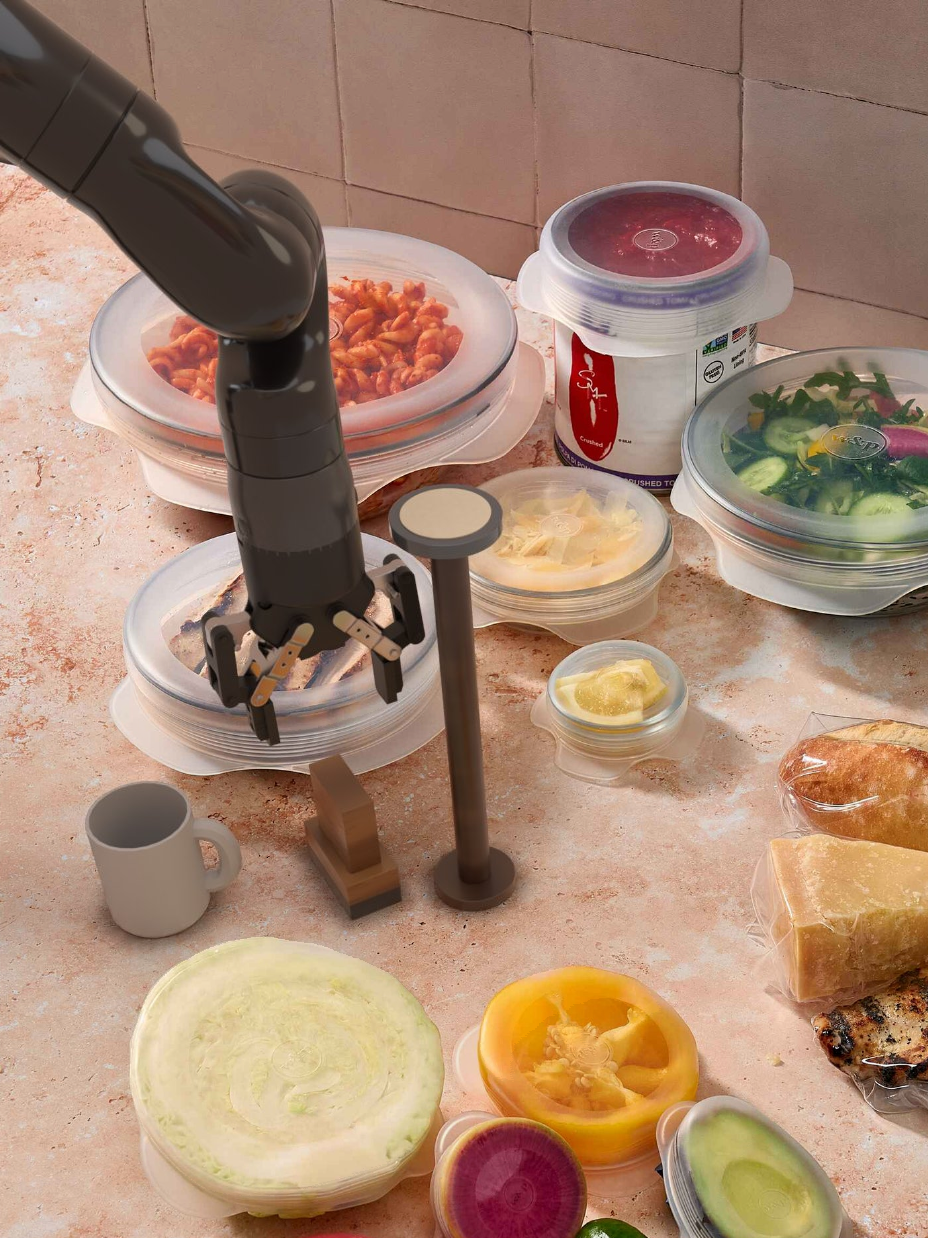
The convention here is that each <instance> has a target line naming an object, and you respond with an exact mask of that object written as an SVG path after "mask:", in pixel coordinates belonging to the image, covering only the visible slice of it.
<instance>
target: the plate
mask: <svg viewBox="0 0 928 1238" xmlns="http://www.w3.org/2000/svg"><path fill="white" fill-rule="evenodd" d="M502 507H503V506H502V505H501V504H500V501H499V500H498V499H497V498H496V497H495V496H493V495H492V494H491V493H489V492H487V491H485V490H483V489H480V488H478V487H475V486H472V485H466V484H457V483H443V484H441V483H440V484H433V485H428V486H424V487H420V488H417V489H414V490H412V491H410V492H408V493H406V494H404V495H402V496H401V497H400V498H399V499H397V500H396V501H395V502H394V503H393V504H392V506H391V508H390V509H389V511H388V518H387V519H388V529H389V535H390V537H391V540H392V541H393V543H394V544H395V545H396V546H397V547H398V548H399V549H401V550H402V551H404V552H406V553H408V554H411V555H413V556H416V557H419V558H424V559H428V560H430V559H442V560H443V559H457V558H463V557H467V556H468V557H470V556H473V555H476V554H479V553H482V552H484V551H486V550H487V549H489V548H490V547H492V546H493V545H494V544H495V543H496V542H497V541H498V540H499V539H500V538H501V536H502V533H503V530H504V511H503V508H502Z"/></svg>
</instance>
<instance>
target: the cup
mask: <svg viewBox="0 0 928 1238" xmlns="http://www.w3.org/2000/svg"><path fill="white" fill-rule="evenodd" d="M84 829H85V831H86V836H87V839H88V843H89V847H90V850H91V853H92V857H93V860H94V863H95V867H96V870H97V873H98V876H99V880H100V884H101V886H102V890H103V894H104V897H105V901H106V904H107V908H108V910H109V913H110V915H111V917H112V919H113V921H114V923H115V924H116V925H117V926H118V927H119V928H120V929H121V930H123V931H126V932H127V933H129V934H131V935H133V936H137V937H140V938H145V939H147V938H148V939H151V938H152V939H159V938H166V937H170V936H173V935H177V934H179V933H181V932H184V931H185V930H187V929H189V928H191V927H192V926H193V925H194V924H195V923H196V922H197V921H199V920H200V919H201V918H202V916H203V915H204V914H205V912H206V910H207V908H208V907H209V904H210V900H211V893H215V892H220V891H223V890H225V889H227V888H228V887H230V886H231V885H232V884H233V883H234V882H235V881H236V880H237V879H238V877H239V874H240V873H241V870H242V866H243V855H242V850H241V846H240V844H239V842H238V840H237V838H236V836H235V835H234V833H233V832H232V831H231V829H230V828H228V826H227V825H225V824H224V823H223V822H221V821H219V820H217V819H214V818H209V817H203V816H202V817H194V813H193V808H192V803H191V800H190V799H189V797H188V795H187V793H185V792H184V791H183V790H182V789H180V787H177V786H175V785H173V784H170V783H169V782H163V781H159V780H140V781H134V782H129V783H125V784H122V785H118V786H115V787H114V788H112V789H110V790H108V791H107V792H105V793H103V794H102V795H101V796H100V797H98V798H97V799H96V800H95V801H94V802H93V803H92V804H91V806H89V808H88V810H87V812H86V815H85V818H84ZM201 841H204V842H209V843H210V844H212V845H213V846H214V847H215V848H216V850H217V855H218V867H215V868H214V869H213V868H212V869H206V868H207V867H206V863H205V860H204V859H205V858H204V854H203V851H202V846H201Z"/></svg>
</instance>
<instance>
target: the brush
mask: <svg viewBox="0 0 928 1238" xmlns="http://www.w3.org/2000/svg"><path fill="white" fill-rule="evenodd" d="M308 771H309V776H310V781H311V788H312V794H313V800H314V806H315V812H316V815H315V816H312V817H309V818H308V819H305V820H303V822H302V823H303V829H304V834H305V839H306V845H307V851H308V856H309V857H310V859H311V860H312V862H313V864H314V865H315V867H316V868H317V869H318V871H319V873H320V874H321V875H322V877H323V878H324V880H325V882H326V883H327V885H328V886H329V888H330V890H331V891H332V892H333V894H334V895H335V897H336V898H337V900H338V901H339V904H340V905H341V906H342V908H343V909H344V911H345V912H346V914H347V915H348V917H349V919H350V920H351V921H354V920H357V919H360V918H362V917H366V916H367V915H369V914H372V913H375V912H377V911H380V910H383V909H384V908H385V909H386V908H388V907H390V906H392V905H395V904H397V903H400V902H402V901H403V898H402V897H403V896H402V890H401V889H402V888H401V882H400V875H399V874H400V873H399V867H398V865H397V864H396V862H395V861H394V859H393V858H392V857H391V855H390V854H389V853H388V851H387V849H386V848H385V846H384V845H383V844H382V843H381V841H380V838H379V834H378V833H379V832H378V825H377V817H376V810H375V803H374V800H373V799H372V797H371V796H370V794H369V793H368V792H367V790H366V789H365V787H364V786H363V785H362V783H361V782H360V780H359V779H358V778H357V776H356V775H355V773H354V772H353V770H351V768H350V766H349V765H348V764H347V763H346V761H345V759H344V758H343V757H342V756H341V754H340V753H336V754H334V755H331V756H328V757H325V758H321V759H320V760H317V761H313V762H311V763H308Z"/></svg>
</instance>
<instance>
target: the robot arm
mask: <svg viewBox="0 0 928 1238" xmlns="http://www.w3.org/2000/svg"><path fill="white" fill-rule="evenodd" d="M0 156H2V158H5V159H6V160H7V161H9V162H10V163H11V164H12V165H14V166H15V167H18V169H20V170H21V171H22V172H23V173H25V174H27V175H28V176H29V177H31V178H32V179H34V180H35V181H37V183H39V184H41V185H42V186H44V187H45V188H46V189H48V190H49V191H51V193H54V195H56V196H58V197H59V198H60V199H61V200H66V203H67V204H69V205H70V206H72V207H73V208H75V209H76V210H78V211H79V212H81V213H83V214H84V215H86V216H87V217H89V218H90V219H91V220H93V222H95V223H96V224H97V225H98V227H100V228H101V230H102V231H103V232H104V233H105V234H106V235H107V236H108V237H109V239H111V241H112V242H113V243H114V244H115V245H116V247H117V248H118V249H119V250H120V251H121V253H123V254H124V255H125V257H126V258H127V259H128V260H130V262H131V263H133V264H134V265H135V267H136V268H138V270H139V271H140V272H141V273H143V275H144V276H145V277H146V278H147V279H148V280H149V281H150V282H151V283H152V284H153V285H154V286H155V287H156V288H157V289H158V290H159V291H160V292H161V293H162V294H163V295H164V296H165V297H166V298H167V299H168V300H169V301H171V303H173V304H174V305H175V306H176V307H177V308H178V309H179V310H180V311H182V312H183V313H184V314H185V315H187V316H188V317H189V318H190V319H192V320H194V321H195V322H196V323H198V324H199V325H201V326H202V327H204V328H206V329H207V330H209V331H211V332H214V333H215V334H216V336H217V337H216V338H217V360H216V366H215V374H214V400H215V407H216V412H217V419H218V424H219V430H220V434H221V440H222V445H223V451H224V455H225V463H226V482H227V483H226V484H227V492H228V499H229V504H230V509H231V514H232V520H233V524H234V529H235V534H236V541H237V547H238V550H239V555H240V562H241V567H242V571H243V576H244V580H245V581H244V582H245V586H246V587H245V588H246V591H247V601H246V604H245V607H244V609H243V611H240V612H236V613H232V614H227V615H224V616H220V615H219V613H218V612H216V611H212V610H210V611H207V612H205V613H204V614H203V615H202V616H201V618H200V625H201V626H200V627H201V632H202V639H203V646H204V653H205V660H206V667H207V675H208V681H209V685H210V687H211V688H212V690H213V691H215V693H216V695H217V696H218V697H219V699H220V702H221V704H222V705H223V706H224V707H225V708H226V709H233V708H236V707H237V706H238V705H240V704H244V706H245V707H244V708H245V711H246V716H247V721H248V726H249V727H250V729H251V730H252V732H253V734H254V735H255V736H256V738H257V739H258V740H259V741H260V742H264V741H265V742H266V743H267V744H268V746H269V747H274V746H276V745H279V744H281V737H280V731H279V726H278V722H277V721H278V720H277V717H276V711H275V710H276V709H275V705H274V702H273V700H272V699H271V696H272V694H273V692H274V690H275V688H276V687H277V685H278V683H279V681H284V680H285V679H286V678H287V677H288V674H289V673H290V671H291V669H292V668H293V665H294V664H295V662H296V660H297V659H299V660H300V661H301V662H302V661H306V660H308V659H311V658H313V657H315V656H317V655H319V654H320V653H322V652H325V651H334V650H339V649H341V648H344V647H346V642H347V641H349V640H350V639H351V638H353V639H355V640H356V641H358V642H359V643H361V644H362V645H363V646H365V647H366V648H368V649H369V652H370V658H371V666H372V672H373V681H374V686H375V687H374V688H375V689H376V692H377V695H379V696H380V698H381V699H382V700H383V701H384V703H385V704H386V705H387V706H388V705H390V704H391V705H392V704H393V703H396V702H398V694H399V693H401V692H402V691H403V688H404V679H403V670H402V663H401V656H402V653H403V650H404V649H405V648H407V647H408V646H410V645H413V646H414V645H420V644H422V643H423V641H424V640H425V638H426V630H425V624H424V619H423V614H422V609H421V603H420V596H419V592H418V586H417V580H416V575H415V574H414V572H413V571H412V570H411V568H409V567H408V565H407V564H406V563H405V562H404V561H403V559H402V558H401V557H400V556H399V555H398V554H397V553H394V552H393V553H389V554H387V555H385V556H384V558H383V560H382V566H379V567H377V568H374V569H371V570H368V571H366V562H365V554H364V548H363V546H364V545H363V541H362V540H363V539H362V533H361V532H362V531H361V525H360V518H359V517H360V516H359V511H358V510H359V509H358V504H359V503H358V502H359V496H358V492H357V488H356V487H355V480H354V475H353V470H352V466H351V463H350V459H349V457H348V453H347V449H346V444H345V439H344V438H345V437H344V430H343V425H342V424H343V423H342V417H341V408H340V402H339V395H338V389H337V386H336V382H335V376H334V371H333V370H334V369H333V364H332V357H331V347H330V346H331V345H330V343H331V342H330V330H331V329H330V301H329V300H330V299H329V280H328V279H329V278H328V264H327V263H328V261H327V253H326V244H325V238H324V232H323V228H322V224H321V221H320V219H319V215H318V214H317V212H316V209H315V208H314V205H313V204H312V203H311V200H310V199H309V198H308V197H307V196H306V194H305V192H303V191H302V190H301V189H300V188H299V187H298V186H297V185H296V184H295V183H293V182H292V181H291V180H289V179H288V178H287V177H285V176H283V175H281V174H279V173H276V172H274V171H272V170H271V171H270V170H267V169H263V168H243V169H240V170H237V171H236V170H235V171H233V172H231V173H228V174H226V175H225V176H223V177H222V178H220V179H219V180H215V179H214V178H213V177H212V176H211V175H209V173H207V172H206V171H205V169H203V168H202V167H201V166H200V165H199V164H198V163H197V162H196V161H195V160H193V158H192V157H191V156H190V155H189V153H188V152H187V151H186V148H185V145H184V142H183V138H182V133H181V130H180V127H179V124H178V123H177V121H176V119H175V118H174V116H173V115H172V114H171V113H170V112H169V110H167V109H166V108H165V107H164V105H162V104H161V103H160V102H158V101H157V100H156V99H155V98H154V97H153V96H152V95H150V93H148V92H146V91H145V90H144V89H143V88H141V87H139V88H138V85H137V84H136V83H135V82H134V81H132V80H131V79H130V78H128V77H127V76H126V75H124V74H123V73H122V72H120V70H119V69H117V68H115V66H113V65H111V63H109V62H107V61H106V60H105V59H104V58H103V57H101V56H100V55H99V54H97V53H95V51H94V52H93V50H92V49H91V48H89V47H88V46H87V45H85V43H83V42H81V41H80V40H79V39H78V38H77V37H75V36H73V35H72V34H71V33H70V32H68V31H67V30H66V29H65V28H63V27H61V26H60V25H59V24H58V23H56V21H54V20H53V19H52V18H50V17H48V15H47V14H45V13H44V12H42V11H41V10H40V9H39V8H37V7H36V6H35V5H34V4H32V3H31V2H30V1H29V0H0ZM377 590H379V591H381V592H382V594H384V596H385V597H386V598H387V599H389V603H390V604H389V605H390V608H391V614H392V619H393V622H391V623H390V624H388V625H387V626H385V627H384V626H382V625H381V624H380V623H379V622H377V621H376V620H374V619H373V618H372V617H370V616H369V615H368V614H367V613H366V612H367V610H368V608H369V607H370V604H371V602H372V601H373V600H374V597H375V593H376V591H377ZM251 631H252V632H253V634H255V636H254V638H253V640H252V642H251V644H250V646H249V656H248V659H247V660H246V662H245V664H244V666H243V667H242V669H241V671H240V673H239V671H238V665H237V657H236V652H237V653H238V652H240V651H241V649H242V645H243V639H244V636H245V635H246V634H247V633H248V632H251ZM274 648H275V649H276V652H274ZM238 673H239V674H238Z"/></svg>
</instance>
